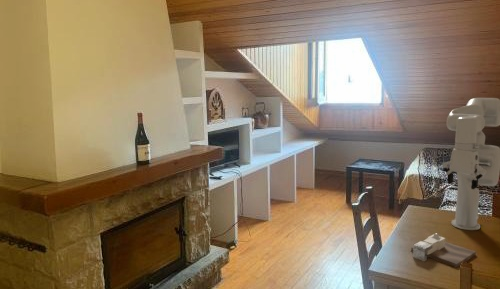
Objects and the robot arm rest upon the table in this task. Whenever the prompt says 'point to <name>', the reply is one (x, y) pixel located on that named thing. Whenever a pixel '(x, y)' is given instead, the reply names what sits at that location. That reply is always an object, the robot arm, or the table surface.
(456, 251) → the board
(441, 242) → the link
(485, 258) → the table surface
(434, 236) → the cylinder
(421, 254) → the block
